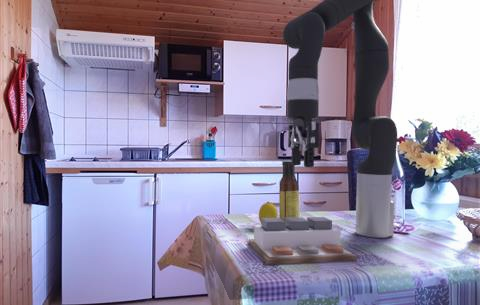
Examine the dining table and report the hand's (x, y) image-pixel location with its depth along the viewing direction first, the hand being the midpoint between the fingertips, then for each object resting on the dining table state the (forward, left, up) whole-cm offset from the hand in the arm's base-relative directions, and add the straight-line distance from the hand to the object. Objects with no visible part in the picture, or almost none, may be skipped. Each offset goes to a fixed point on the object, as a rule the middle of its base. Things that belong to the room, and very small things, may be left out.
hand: (302, 166), depth 85 cm
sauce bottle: (-6, -26, -20) cm, 33 cm away
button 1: (-4, +2, -17) cm, 17 cm away
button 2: (+2, +2, -17) cm, 17 cm away
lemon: (+3, -19, -20) cm, 27 cm away
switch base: (+2, +4, -20) cm, 20 cm away
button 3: (+8, +2, -17) cm, 18 cm away
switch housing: (+2, +2, -20) cm, 20 cm away
